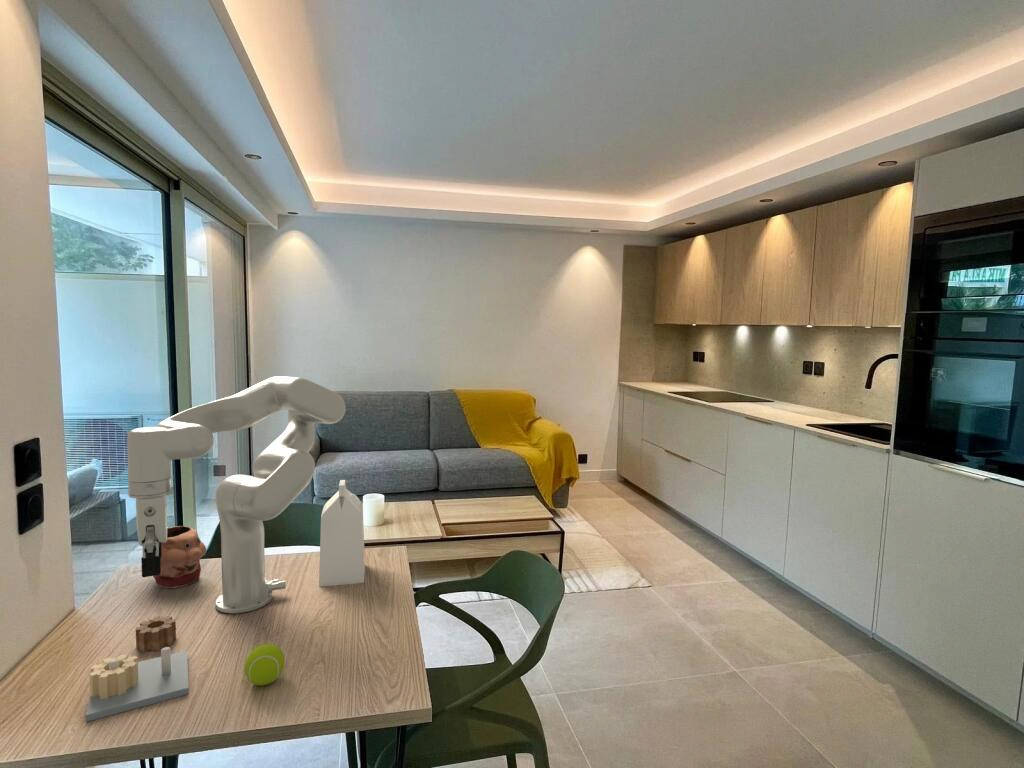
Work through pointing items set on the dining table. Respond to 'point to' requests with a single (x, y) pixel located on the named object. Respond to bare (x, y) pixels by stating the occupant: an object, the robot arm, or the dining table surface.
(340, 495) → the milk
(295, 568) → the dining table surface
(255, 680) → the tennis ball
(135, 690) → the gear board
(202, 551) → the decorative planter
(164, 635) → the walnut gear
